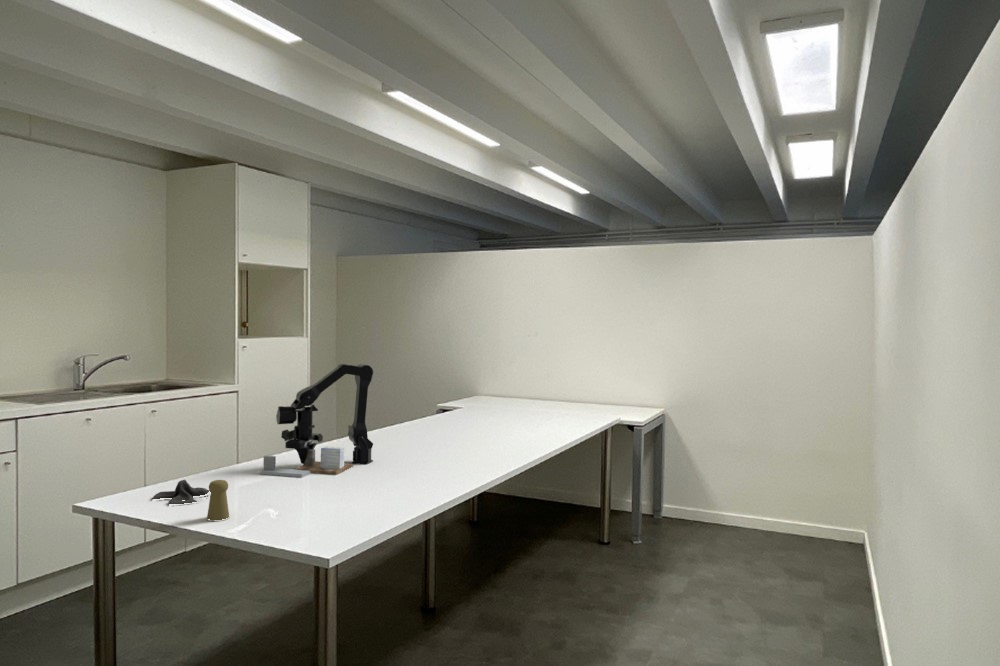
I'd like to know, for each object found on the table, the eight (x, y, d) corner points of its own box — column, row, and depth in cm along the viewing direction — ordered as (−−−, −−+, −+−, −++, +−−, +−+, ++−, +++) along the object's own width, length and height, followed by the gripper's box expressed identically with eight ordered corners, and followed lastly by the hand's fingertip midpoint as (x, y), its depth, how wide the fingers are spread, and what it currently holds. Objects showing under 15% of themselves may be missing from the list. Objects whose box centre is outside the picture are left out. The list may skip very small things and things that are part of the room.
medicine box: (344, 469, 262) (345, 447, 262) (339, 471, 257) (340, 448, 258) (324, 468, 263) (325, 446, 263) (320, 470, 259) (320, 447, 259)
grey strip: (310, 473, 254) (310, 457, 253) (301, 477, 248) (302, 460, 248) (269, 470, 257) (269, 454, 257) (260, 474, 251) (260, 457, 251)
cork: (211, 515, 200) (211, 478, 200) (232, 515, 200) (232, 478, 200) (203, 521, 194) (204, 483, 194) (225, 521, 194) (226, 483, 194)
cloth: (180, 510, 206) (180, 490, 206) (136, 502, 213) (137, 483, 213) (235, 493, 227) (235, 475, 226) (194, 487, 234) (194, 469, 234)
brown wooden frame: (352, 466, 266) (353, 448, 266) (336, 474, 253) (336, 455, 253) (313, 464, 270) (313, 446, 270) (294, 471, 257) (295, 452, 256)
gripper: (298, 418, 274) (297, 456, 274) (272, 425, 256) (272, 466, 256) (323, 419, 271) (323, 458, 272) (299, 426, 253) (299, 468, 254)
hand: (304, 463), depth 263 cm, fingers closed on brown wooden frame, 2 cm apart
